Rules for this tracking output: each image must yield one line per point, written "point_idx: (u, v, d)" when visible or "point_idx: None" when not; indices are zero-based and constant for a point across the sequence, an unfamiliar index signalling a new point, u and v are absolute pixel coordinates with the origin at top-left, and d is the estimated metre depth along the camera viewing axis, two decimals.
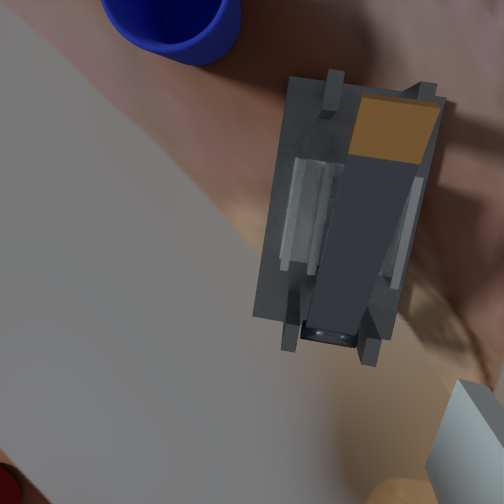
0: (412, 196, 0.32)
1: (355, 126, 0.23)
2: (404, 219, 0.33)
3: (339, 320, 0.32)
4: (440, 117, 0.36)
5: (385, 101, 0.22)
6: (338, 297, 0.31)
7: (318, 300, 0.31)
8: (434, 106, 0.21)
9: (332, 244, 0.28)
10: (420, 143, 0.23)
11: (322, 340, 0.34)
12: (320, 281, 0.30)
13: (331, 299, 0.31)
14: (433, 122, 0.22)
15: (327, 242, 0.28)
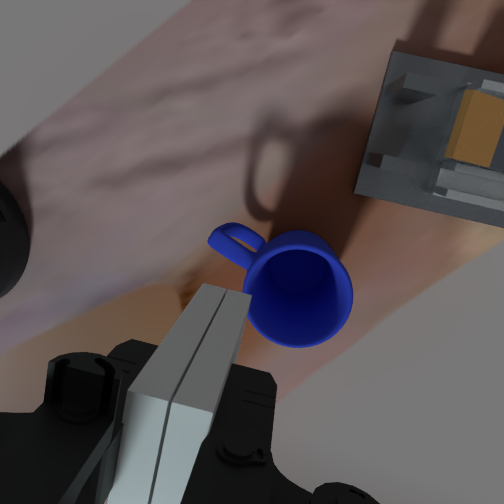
0: (500, 89, 0.33)
1: (470, 162, 0.26)
2: None
3: None
4: (410, 55, 0.38)
5: (459, 137, 0.25)
6: None
7: None
8: (470, 95, 0.25)
9: None
10: (495, 104, 0.25)
11: None
12: None
13: None
14: (482, 94, 0.25)
15: None
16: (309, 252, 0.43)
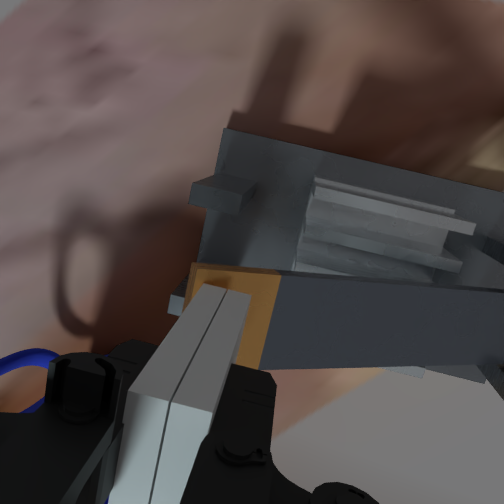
0: (340, 201, 0.23)
1: None
2: None
3: None
4: (246, 134, 0.28)
5: None
6: (476, 332, 0.21)
7: (476, 356, 0.21)
8: (194, 275, 0.15)
9: (392, 358, 0.19)
10: (248, 282, 0.15)
11: None
12: (447, 360, 0.21)
13: (477, 340, 0.21)
14: (218, 272, 0.15)
15: (388, 365, 0.19)
16: None
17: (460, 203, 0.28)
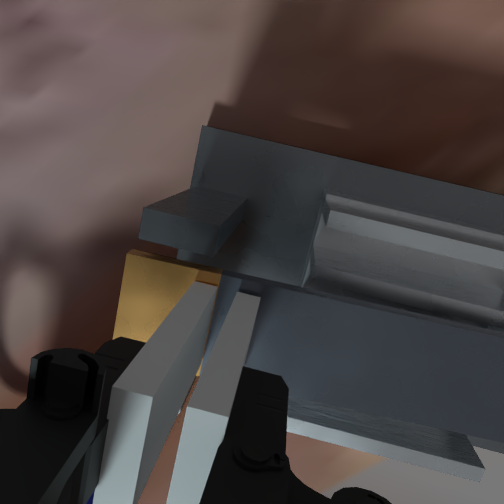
0: (365, 232, 0.16)
1: None
2: None
3: None
4: (233, 135, 0.21)
5: (115, 326, 0.15)
6: None
7: None
8: (126, 260, 0.15)
9: (383, 406, 0.15)
10: (183, 276, 0.15)
11: None
12: (477, 429, 0.16)
13: None
14: (148, 260, 0.14)
15: (377, 413, 0.16)
16: None
17: None
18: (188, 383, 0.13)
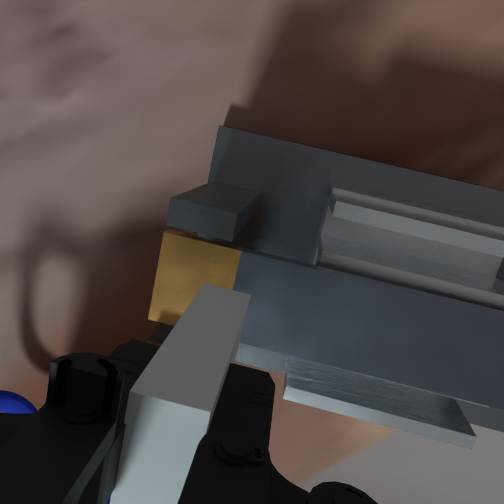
0: (367, 221, 0.18)
1: None
2: None
3: None
4: (247, 134, 0.23)
5: (153, 293, 0.18)
6: None
7: None
8: (163, 238, 0.18)
9: (379, 369, 0.18)
10: (209, 252, 0.17)
11: None
12: (464, 393, 0.18)
13: None
14: (181, 238, 0.17)
15: (374, 375, 0.18)
16: None
17: None
18: None
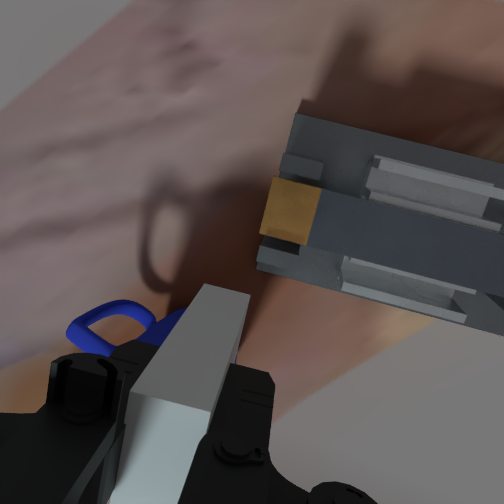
0: (400, 172, 0.28)
1: (282, 238, 0.29)
2: (426, 180, 0.28)
3: None
4: (315, 119, 0.33)
5: (263, 216, 0.29)
6: (487, 265, 0.28)
7: (490, 286, 0.28)
8: (272, 180, 0.28)
9: (406, 265, 0.28)
10: (301, 189, 0.28)
11: None
12: (459, 281, 0.28)
13: (490, 272, 0.28)
14: (284, 180, 0.28)
15: (403, 270, 0.28)
16: None
17: (497, 180, 0.33)
18: None
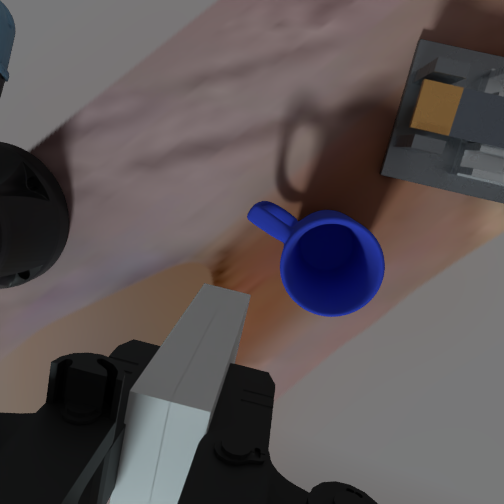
0: None
1: (429, 130, 0.36)
2: None
3: None
4: (437, 43, 0.41)
5: (415, 112, 0.36)
6: None
7: None
8: (423, 82, 0.35)
9: None
10: (447, 88, 0.35)
11: None
12: None
13: None
14: (433, 82, 0.35)
15: None
16: (337, 231, 0.45)
17: None
18: None
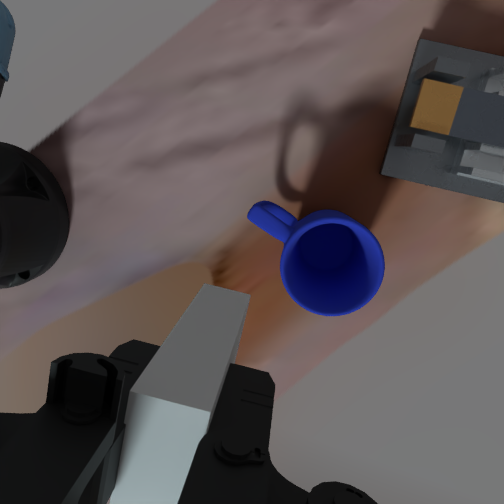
0: None
1: (429, 130, 0.36)
2: None
3: None
4: (436, 43, 0.41)
5: (415, 112, 0.36)
6: None
7: None
8: (423, 82, 0.35)
9: None
10: (447, 88, 0.35)
11: None
12: None
13: None
14: (433, 81, 0.35)
15: None
16: (337, 231, 0.45)
17: None
18: None
